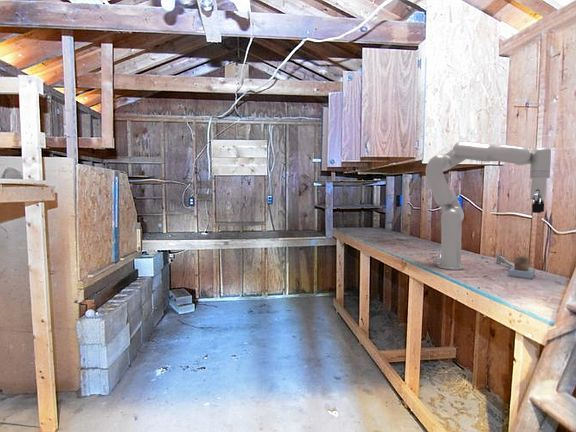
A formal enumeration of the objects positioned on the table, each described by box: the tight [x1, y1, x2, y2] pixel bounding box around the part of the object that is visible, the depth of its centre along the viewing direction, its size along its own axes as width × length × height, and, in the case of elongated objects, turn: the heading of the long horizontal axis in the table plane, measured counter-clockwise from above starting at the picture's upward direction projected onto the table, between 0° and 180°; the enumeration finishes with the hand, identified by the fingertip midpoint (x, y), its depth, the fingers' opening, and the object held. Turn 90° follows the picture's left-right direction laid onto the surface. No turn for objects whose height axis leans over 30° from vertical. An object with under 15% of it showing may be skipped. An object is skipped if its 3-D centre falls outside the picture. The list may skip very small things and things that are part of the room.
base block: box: [507, 267, 536, 280], centre depth 165 cm, size 9×9×3 cm
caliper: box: [495, 252, 514, 268], centre depth 184 cm, size 20×1×6 cm, turn 178°
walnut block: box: [513, 255, 530, 271], centre depth 164 cm, size 5×5×6 cm
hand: (538, 212), depth 162 cm, fingers open, 9 cm apart
